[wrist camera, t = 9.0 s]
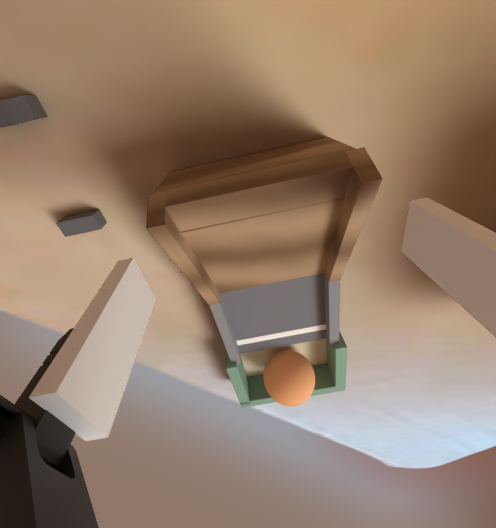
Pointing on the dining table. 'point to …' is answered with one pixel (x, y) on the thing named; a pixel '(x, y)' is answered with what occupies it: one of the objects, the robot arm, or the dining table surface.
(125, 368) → the robot arm
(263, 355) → the green open tray
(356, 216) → the ramp
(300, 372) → the ball
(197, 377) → the dining table surface
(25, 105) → the grey flat pieces
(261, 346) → the runway
